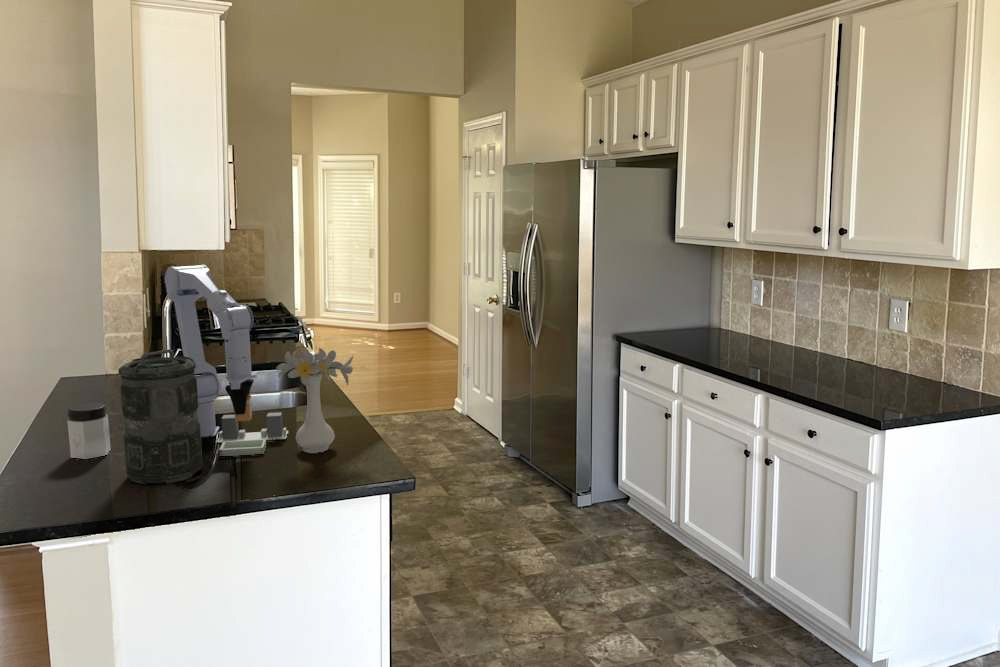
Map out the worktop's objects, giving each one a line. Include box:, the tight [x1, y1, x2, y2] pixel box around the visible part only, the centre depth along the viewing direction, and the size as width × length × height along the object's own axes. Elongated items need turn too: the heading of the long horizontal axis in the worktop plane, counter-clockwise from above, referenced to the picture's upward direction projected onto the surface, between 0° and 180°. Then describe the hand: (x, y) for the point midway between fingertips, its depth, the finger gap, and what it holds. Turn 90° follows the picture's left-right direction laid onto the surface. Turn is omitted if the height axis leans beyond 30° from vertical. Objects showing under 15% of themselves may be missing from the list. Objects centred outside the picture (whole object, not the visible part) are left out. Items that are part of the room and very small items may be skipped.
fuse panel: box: [216, 411, 289, 444], centre depth 209 cm, size 17×7×6 cm, turn 100°
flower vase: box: [275, 347, 354, 454], centre depth 199 cm, size 13×18×25 cm
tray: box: [218, 439, 268, 457], centre depth 199 cm, size 10×7×2 cm
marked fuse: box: [234, 394, 253, 422], centre depth 197 cm, size 4×4×6 cm
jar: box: [66, 402, 112, 459], centre depth 196 cm, size 9×8×12 cm
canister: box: [117, 349, 203, 486], centre depth 181 cm, size 16×16×28 cm
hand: (241, 411), depth 197 cm, fingers closed on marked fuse, 3 cm apart
